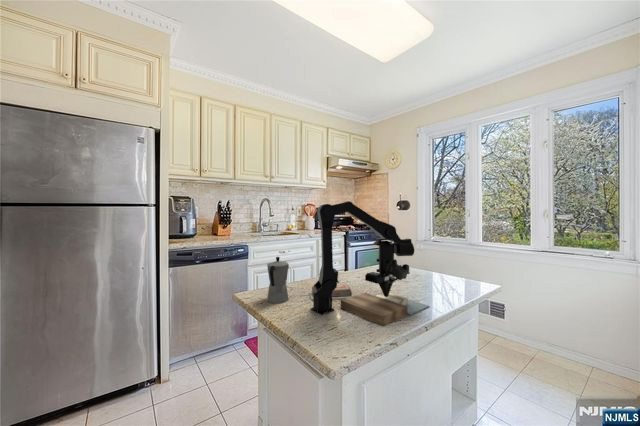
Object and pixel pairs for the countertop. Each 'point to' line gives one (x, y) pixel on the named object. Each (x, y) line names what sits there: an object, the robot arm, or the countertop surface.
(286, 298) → the coffeepot
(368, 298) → the block
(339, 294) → the packaged product
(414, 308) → the mat
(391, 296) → the cream flat block
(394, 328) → the countertop surface
